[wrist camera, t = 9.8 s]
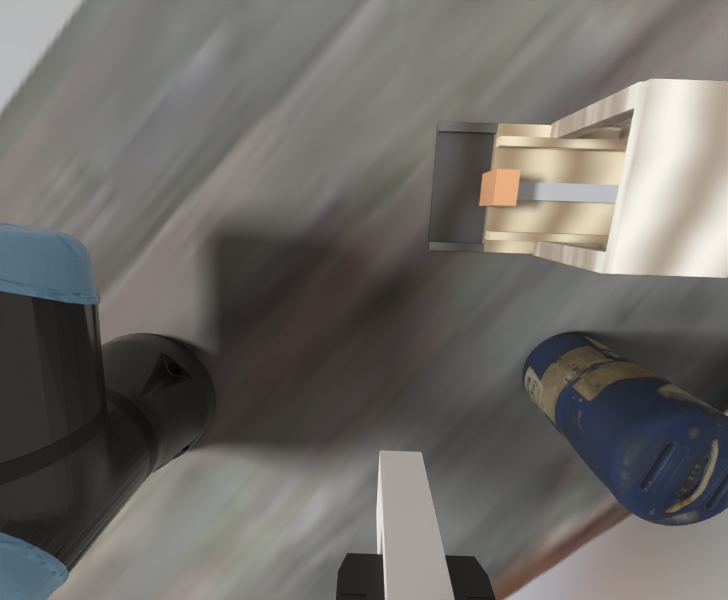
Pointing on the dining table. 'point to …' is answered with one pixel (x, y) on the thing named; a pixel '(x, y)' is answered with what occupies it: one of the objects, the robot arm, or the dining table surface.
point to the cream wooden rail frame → (599, 166)
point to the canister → (633, 429)
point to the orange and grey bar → (538, 190)
